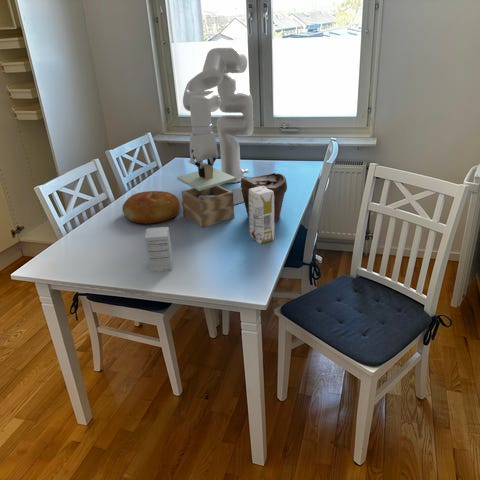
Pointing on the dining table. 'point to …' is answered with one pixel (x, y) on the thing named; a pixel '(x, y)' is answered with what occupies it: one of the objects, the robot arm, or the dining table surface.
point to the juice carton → (261, 214)
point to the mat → (237, 196)
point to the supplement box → (159, 249)
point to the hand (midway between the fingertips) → (206, 175)
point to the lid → (206, 178)
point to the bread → (151, 207)
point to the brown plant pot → (270, 182)
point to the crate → (208, 205)
